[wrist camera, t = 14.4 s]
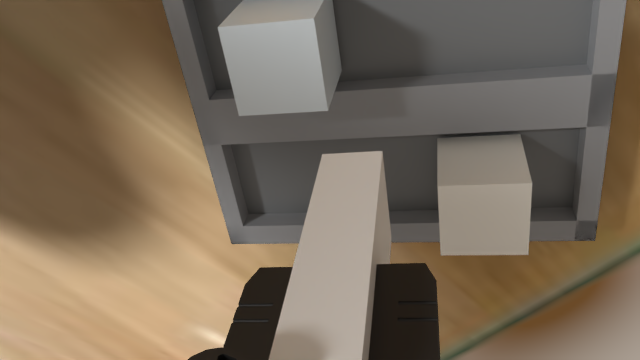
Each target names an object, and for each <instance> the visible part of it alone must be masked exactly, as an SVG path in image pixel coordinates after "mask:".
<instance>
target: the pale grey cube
mask: <svg viewBox="0 0 640 360" xmlns="http://www.w3.org/2000/svg"><path fill="white" fill-rule="evenodd" d="M218 32H219V36H220V40H221V44H222V48H223V52H224V56H225V60H226V65H227V69H228V73H229V77H230V81H231V85H232V89H233V93H234V98H235V102H236V106H237V110H238V114H239V116H249V115H266V114H283V113H300V112H317V111H328V109H329V106H330V104H331V101H332V98H333V95H334V92H335V89H336V86H337V83H338V80H339V77H340V74H341V71H342V68H341V60H340V53H339V45H338V38H337V30H336V23H335V15H334V8H333V0H243V1H242V2H241V3H240V4H239V5H238V6H237V7H236V8H235V9H234V10H233V11H232V12H231V14H230V15H229V16H228V17H227V18H226V19H225V20H224V21H223V22H222V23H221V24H220V25H219V26H218Z"/></svg>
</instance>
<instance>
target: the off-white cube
mask: <svg viewBox="0 0 640 360" xmlns="http://www.w3.org/2000/svg"><path fill="white" fill-rule="evenodd" d="M437 187H438V209H439V230H440V251H441V255H528V252H529V234H530V215H531V197H532V180H531V176H530V172H529V168H528V164H527V160H526V155H525V151H524V147H523V143H522V139H521V135H520V134H513V135H492V136H471V137H449V138H437Z"/></svg>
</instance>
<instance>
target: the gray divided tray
mask: <svg viewBox="0 0 640 360" xmlns="http://www.w3.org/2000/svg"><path fill="white" fill-rule="evenodd" d="M242 1H243V0H162V3H163V6H164V10H165V13H166V17H167V20H168V24H169V27H170V31H171V34H172V38H173V41H174V45H175V48H176V52H177V55H178V58H179V62H180V65H181V69H182V72H183V76H184V79H185V83H186V86H187V90H188V93H189V97H190V100H191V104H192V107H193V111H194V114H195V118H196V121H197V125H198V128H199V132H200V135H201V139H202V142H203V146H204V149H205V153H206V156H207V160H208V163H209V167H210V170H211V174H212V177H213V181H214V184H215V188H216V191H217V194H218V198H219V201H220V205H221V208H222V212H223V215H224V219H225V222H226V226H227V229H228V233H229V236H230V240H231V243H232V244H277V243H299V242H300V238H301V234H302V230H303V226H304V222H305V219H306V215H307V211H308V207H309V203H310V199H311V196H312V192H313V188H314V184H315V180H316V176H317V173H318V169H319V165H320V161H321V157H322V154H335V153H353V152H371V151H382V152H383V161H384V171H385V181H386V190H387V200H388V209H389V219H390V229H391V242H440V230H439V209H438V187H437V138H449V137H471V136H492V135H513V134H520V135H521V139H522V143H523V147H524V151H525V155H526V160H527V164H528V168H529V172H530V176H531V180H532V197H531V215H530V234H529V241H595V238H596V230H597V222H598V215H599V207H600V199H601V192H602V184H603V176H604V169H605V161H606V153H607V146H608V138H609V131H610V123H611V115H612V108H613V100H614V92H615V85H616V77H617V69H618V62H619V54H620V46H621V39H622V31H623V24H624V16H625V8H626V1H627V0H333V8H334V15H335V23H336V30H337V38H338V45H339V53H340V60H341V68H342V71H341V74H340V77H339V80H338V83H337V86H336V89H335V92H334V95H333V98H332V101H331V104H330V106H329V109H328V111H317V112H300V113H283V114H266V115H249V116H239V114H238V110H237V106H236V102H235V98H234V93H233V89H232V85H231V81H230V77H229V73H228V69H227V65H226V60H225V56H224V52H223V48H222V44H221V40H220V36H219V32H218V26H219V25H220V24H221V23H222V22H223V21H224V20H225V19H226V18H227V17H228V16H229V15H230V14H231V12H232V11H233V10H234V9H235V8H236V7H237V6H238V5H239V4H240V3H241V2H242Z"/></svg>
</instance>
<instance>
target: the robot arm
mask: <svg viewBox="0 0 640 360" xmlns="http://www.w3.org/2000/svg"><path fill="white" fill-rule="evenodd" d="M390 254H391V229H390V219H389V209H388V200H387V190H386V181H385V171H384V161H383V152H382V151H371V152H353V153H335V154H322V157H321V161H320V165H319V169H318V173H317V176H316V180H315V184H314V188H313V192H312V196H311V199H310V203H309V207H308V211H307V215H306V219H305V222H304V226H303V230H302V234H301V238H300V242H299V245H298V249H297V253H296V257H295V261H294V264H293V267H271V268H259V270H258V271H257V272H256V273H255V274H254V275H253V276H252V277H251V279H250V280H249V281H248V282H247V283H246V284H245V287H244V289H243V292H242V295H241V298H240V301H239V307H237V310H236V312H235V315H234V318H233V323H232V324H231V327H230V330H229V333H228V335H227V338H226V341H225V344H224V347H223V348H215V349H208V350H205V351H203V352H200V353H198V354H196V355H194V356H192V357H190V358H189V359H188V360H440V345H439V323H438V304H437V286H436V280H435V278H434V276H433V275H432V273H431V272H430V270H429V268H428V267H427V265H426V264H425V263H410V264H390Z"/></svg>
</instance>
